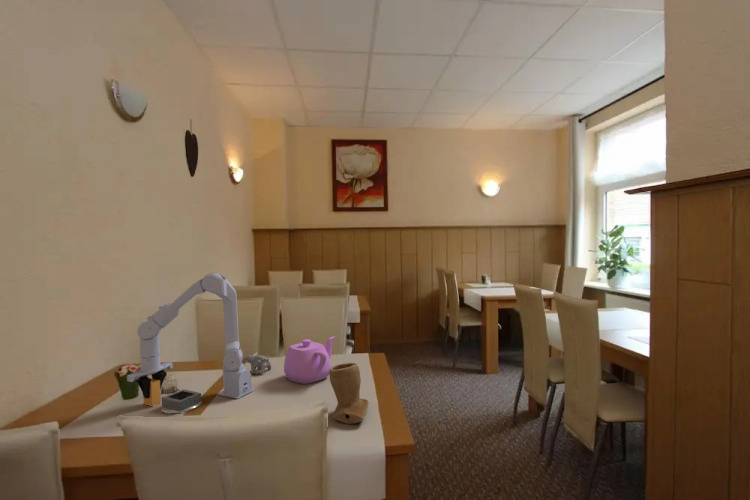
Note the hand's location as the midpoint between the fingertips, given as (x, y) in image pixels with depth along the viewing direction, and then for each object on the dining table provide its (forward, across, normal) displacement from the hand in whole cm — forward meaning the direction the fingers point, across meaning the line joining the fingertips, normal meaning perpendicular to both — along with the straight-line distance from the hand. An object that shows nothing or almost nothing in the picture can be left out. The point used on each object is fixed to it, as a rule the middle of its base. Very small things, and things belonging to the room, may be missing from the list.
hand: (151, 395), depth 125 cm
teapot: (+3, -41, +35) cm, 54 cm away
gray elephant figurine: (+3, -38, +10) cm, 39 cm away
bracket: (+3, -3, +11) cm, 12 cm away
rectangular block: (+3, 0, 0) cm, 3 cm away
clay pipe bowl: (+3, -19, +66) cm, 69 cm away
